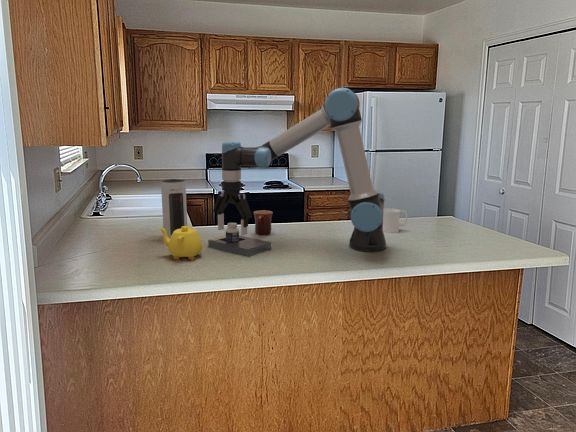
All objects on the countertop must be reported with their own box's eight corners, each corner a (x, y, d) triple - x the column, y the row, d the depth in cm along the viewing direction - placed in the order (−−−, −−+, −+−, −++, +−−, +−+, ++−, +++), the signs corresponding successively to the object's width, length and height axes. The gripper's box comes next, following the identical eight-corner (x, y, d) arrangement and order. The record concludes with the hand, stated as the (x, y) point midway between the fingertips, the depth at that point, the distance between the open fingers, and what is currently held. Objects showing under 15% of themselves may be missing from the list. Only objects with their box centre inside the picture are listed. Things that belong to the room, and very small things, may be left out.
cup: (407, 233, 227) (409, 212, 225) (381, 232, 228) (382, 211, 226) (405, 229, 235) (406, 209, 233) (380, 228, 236) (381, 208, 234)
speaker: (162, 242, 207) (160, 181, 201) (163, 236, 217) (161, 178, 211) (188, 241, 209) (186, 180, 203) (187, 235, 219) (186, 177, 213)
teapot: (189, 249, 196) (188, 220, 194) (210, 256, 186) (210, 226, 184) (158, 255, 187) (157, 225, 184) (179, 264, 177) (178, 232, 174)
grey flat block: (271, 249, 197) (271, 242, 197) (247, 256, 186) (247, 249, 186) (232, 240, 211) (232, 233, 210) (208, 247, 200) (208, 239, 199)
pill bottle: (233, 249, 197) (233, 225, 195) (223, 247, 200) (222, 223, 198) (241, 246, 202) (241, 223, 200) (231, 244, 205) (231, 221, 203)
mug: (256, 231, 228) (256, 209, 226) (274, 232, 226) (274, 210, 224) (249, 237, 216) (249, 215, 214) (268, 238, 214) (268, 215, 212)
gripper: (260, 182, 191) (261, 235, 195) (217, 177, 206) (218, 226, 210) (247, 184, 185) (248, 238, 189) (203, 178, 200) (205, 229, 204)
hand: (232, 232), depth 200 cm, fingers open, 13 cm apart
